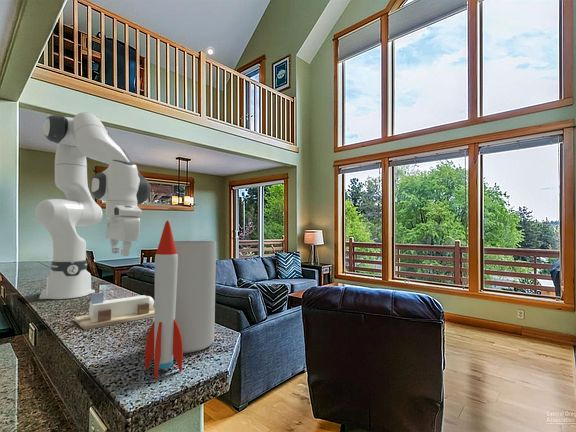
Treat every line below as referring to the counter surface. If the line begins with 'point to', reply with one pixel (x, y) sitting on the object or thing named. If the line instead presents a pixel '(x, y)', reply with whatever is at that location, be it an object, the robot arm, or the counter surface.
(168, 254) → the toy rocket
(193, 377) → the counter surface
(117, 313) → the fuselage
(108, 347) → the counter surface
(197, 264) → the cylinder vase
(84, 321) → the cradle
